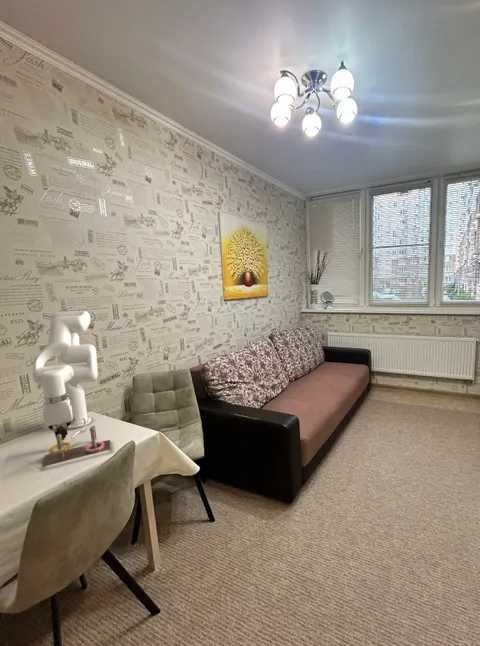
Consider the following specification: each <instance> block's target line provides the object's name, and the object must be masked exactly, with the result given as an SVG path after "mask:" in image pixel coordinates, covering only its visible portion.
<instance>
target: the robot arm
mask: <svg viewBox="0 0 480 646" xmlns="http://www.w3.org/2000/svg"><path fill="white" fill-rule="evenodd" d="M91 319H92V318H91V315H90V313H89V312H88V311H87V310H70V311H69V310H64V311H63V310H62V311H56V312H52V313H51V314H50V315H49V322H50V323H49V332H48V343H47V346H46V347H44V348H43V349H42V350H41V351H40V352H39V353H38V354H37V356H36V357H35V358H34V361H33V369H32V379H33V381H34V383H36V384H38V385H42V392H43V397H44V398H43V399H44V402H43V405H42V415H43V425H42V428H43V429H49V430H51V431H53V432H54V436H55V438H56V435H58V434H59V430H58V425H62V426H63V430H62V431H63V438H64V439H67V436H68V429H69V430H72V429H78V428H83V427H84V420H83V419H80V418H81V417H84V418H85V419H86V426H87V425H88V424H90V423H91V422H92V417H90V416H88V411H87V402H86V395H85V389H84V388H83V386H81V385H80V384H85V383H86V384H87V383H93V382H96V381H97V379H98V376H99V369H98V355H97V354H98V353H97V349H96V346H95V345H93V344H91V343H89V344H88V343H85V344H80V336H79V334H80V333H81V334H82V333H85V332H86V331H87V330H88V328H89V326H90V324H91V321H92V320H91ZM58 355H59V357H60V361H61V363H63V364H62V365H61V364H60V365H50V366H45V364H46V363H47V361H48V360H50V359H52V358H53V357H55V356H58ZM80 363H86V364H80ZM69 364H76V365H69ZM79 419H80V420H79Z"/></svg>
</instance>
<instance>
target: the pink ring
mask: <svg viewBox="0 0 480 646" xmlns="http://www.w3.org/2000/svg"><path fill="white" fill-rule="evenodd" d="M91 427H94V428H95V429H96V426H95V425H93V426H91ZM95 437H96V445H101V446H100V447H98V448H96V449H92V450H91V449H88V448H90V447H91V446H92V442H91V443H89V444H86V445H87V446H86V447H85V452H88V453H92V452H96V451H99V450H101V449H102V448H104V443H103V442H102V441H97V432H96V430H95Z"/></svg>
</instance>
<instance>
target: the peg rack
mask: <svg viewBox="0 0 480 646" xmlns="http://www.w3.org/2000/svg"><path fill="white" fill-rule="evenodd" d="M95 431H96V427H95V428H94V427H92V426H91V427H90V428H89V432H90V438H91V443H92V446H91V447H90V448H88V449H91V450H92V449H96V448H98V447H100V446H101V445H96V442H97V440H96V439H97V436H96V437H95ZM61 437H62V436H61V435H60V434H58V435H56V437H55V439H56V444H57V445H58V447H57V450H61V449H64V448H63V447H64V445H63V446H62V439H61ZM101 442H103V443H104V448H102V449H101V450H99V451H96V452H92V453H88V452H85V447H86V446H87V445H88V444H86V445H81V446H78V447H73V448H70V449H69V450H67V451H65V452H62V453H58V454H53V453H48V454H45V456H44V459H43V463H42V465H41V467H42V468H44V467H48V466H52V465H54V464H55V465H56V464H59V463H63V462H67V461H71V460H76V459H79V458H82V457H86V456H90V455H95V454H99V453H102V452H106V451H110V450H111V440H110V439H106V440H103V441H101Z"/></svg>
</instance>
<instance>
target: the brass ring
mask: <svg viewBox="0 0 480 646" xmlns="http://www.w3.org/2000/svg"><path fill="white" fill-rule="evenodd" d="M57 428H58V430H59V434H60V435H61V436H62V437H61V439H62V446H63V447H64V446H66V447H64V448H63V449H61V450H58V445H57V443H56V444H54V445H52V446H51V447H50V448H49V454H52V453H53V454H58V453H62V452H65V451H67V450H69V449H72V442H68V441H65V438H63V431H62V430H63V425H57ZM56 449H57V450H56Z"/></svg>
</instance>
